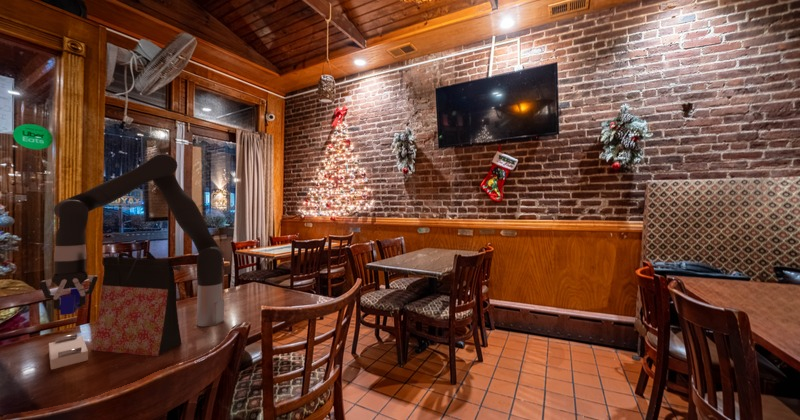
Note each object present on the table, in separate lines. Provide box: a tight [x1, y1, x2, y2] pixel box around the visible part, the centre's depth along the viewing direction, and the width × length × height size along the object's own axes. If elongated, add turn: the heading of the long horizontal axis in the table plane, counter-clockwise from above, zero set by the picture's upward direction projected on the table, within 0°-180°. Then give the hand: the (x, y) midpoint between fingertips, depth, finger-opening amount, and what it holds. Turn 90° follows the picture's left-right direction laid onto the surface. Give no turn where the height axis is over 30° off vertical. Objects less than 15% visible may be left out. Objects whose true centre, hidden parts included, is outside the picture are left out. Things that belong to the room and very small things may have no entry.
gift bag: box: [90, 251, 182, 357], centre depth 110 cm, size 29×14×35 cm, turn 84°
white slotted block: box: [48, 333, 89, 370], centre depth 103 cm, size 8×17×4 cm, turn 50°
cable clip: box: [59, 288, 81, 316], centre depth 105 cm, size 12×4×6 cm, turn 35°
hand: (69, 307), depth 106 cm, fingers closed on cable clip, 4 cm apart
